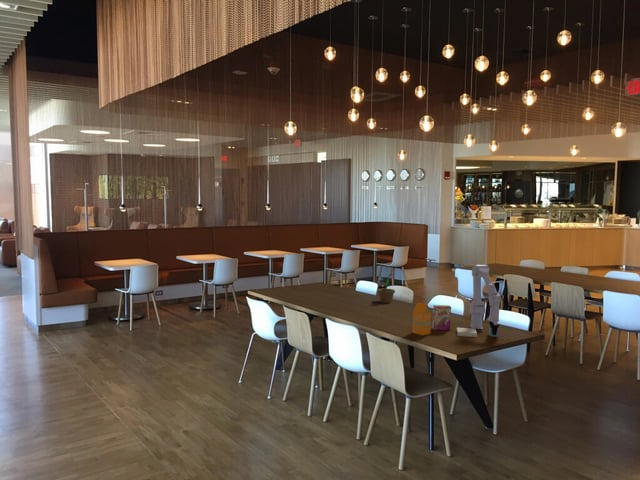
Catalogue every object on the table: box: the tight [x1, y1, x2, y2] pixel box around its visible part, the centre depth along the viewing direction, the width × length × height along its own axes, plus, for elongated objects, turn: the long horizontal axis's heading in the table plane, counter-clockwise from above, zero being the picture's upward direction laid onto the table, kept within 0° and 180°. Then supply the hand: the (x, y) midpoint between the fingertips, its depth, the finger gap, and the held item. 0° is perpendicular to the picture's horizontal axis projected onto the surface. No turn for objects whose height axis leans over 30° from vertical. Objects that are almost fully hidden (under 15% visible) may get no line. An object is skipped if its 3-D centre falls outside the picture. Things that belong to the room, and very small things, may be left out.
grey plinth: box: [456, 327, 478, 338], centre depth 342 cm, size 12×12×3 cm
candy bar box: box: [431, 304, 452, 331], centre depth 353 cm, size 11×5×16 cm, turn 92°
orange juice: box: [412, 302, 432, 336], centre depth 342 cm, size 8×9×20 cm
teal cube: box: [488, 326, 499, 338], centre depth 340 cm, size 5×5×5 cm
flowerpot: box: [377, 267, 396, 304], centre depth 446 cm, size 14×14×30 cm
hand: (493, 333), depth 340 cm, fingers open, 7 cm apart
